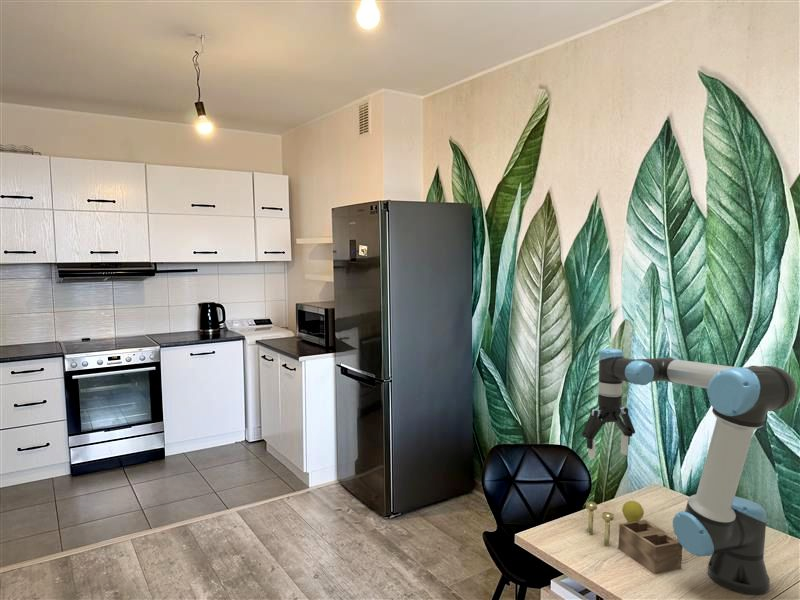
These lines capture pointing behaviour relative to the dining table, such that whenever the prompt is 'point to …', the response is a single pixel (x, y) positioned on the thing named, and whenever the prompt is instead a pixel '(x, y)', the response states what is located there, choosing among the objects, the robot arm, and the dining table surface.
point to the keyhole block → (650, 546)
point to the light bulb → (632, 511)
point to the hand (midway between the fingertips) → (608, 456)
